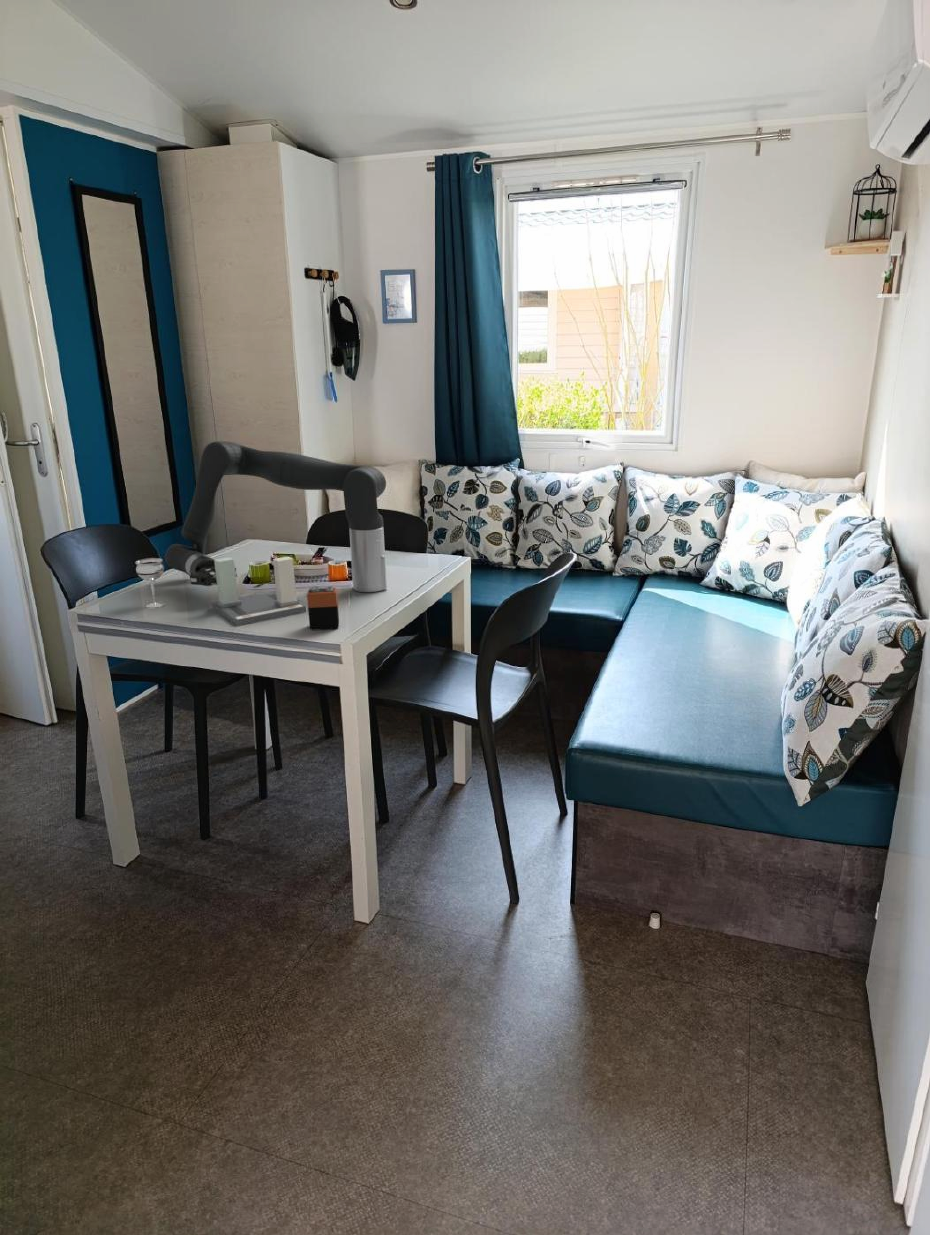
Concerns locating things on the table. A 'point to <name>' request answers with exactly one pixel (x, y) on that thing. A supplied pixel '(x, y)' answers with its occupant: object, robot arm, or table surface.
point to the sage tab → (226, 582)
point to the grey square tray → (257, 609)
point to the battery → (323, 608)
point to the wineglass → (150, 573)
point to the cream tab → (285, 582)
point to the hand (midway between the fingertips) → (224, 582)
